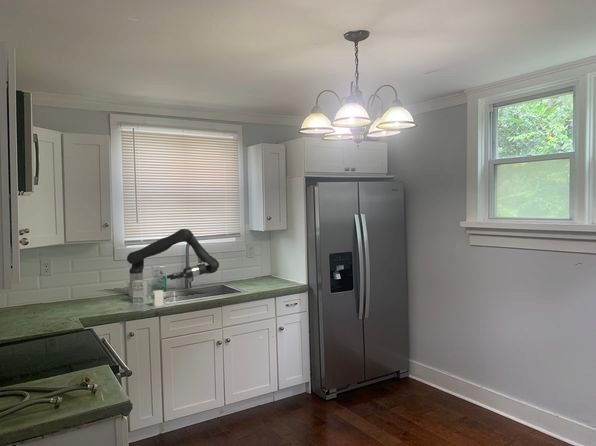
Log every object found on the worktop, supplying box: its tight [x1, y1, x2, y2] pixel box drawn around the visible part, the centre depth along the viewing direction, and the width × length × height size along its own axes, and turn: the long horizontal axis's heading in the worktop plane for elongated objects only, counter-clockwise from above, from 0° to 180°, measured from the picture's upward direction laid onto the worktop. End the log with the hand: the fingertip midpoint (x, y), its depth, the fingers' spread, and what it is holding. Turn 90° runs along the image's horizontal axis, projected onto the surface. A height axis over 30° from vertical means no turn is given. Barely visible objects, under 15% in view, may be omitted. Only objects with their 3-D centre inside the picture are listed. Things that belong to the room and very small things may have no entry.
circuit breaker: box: [132, 279, 152, 305], centre depth 315 cm, size 8×14×15 cm, turn 174°
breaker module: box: [150, 289, 165, 308], centre depth 301 cm, size 4×7×10 cm, turn 128°
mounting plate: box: [118, 303, 157, 312], centre depth 295 cm, size 20×12×1 cm, turn 68°
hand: (168, 277), depth 305 cm, fingers open, 8 cm apart
